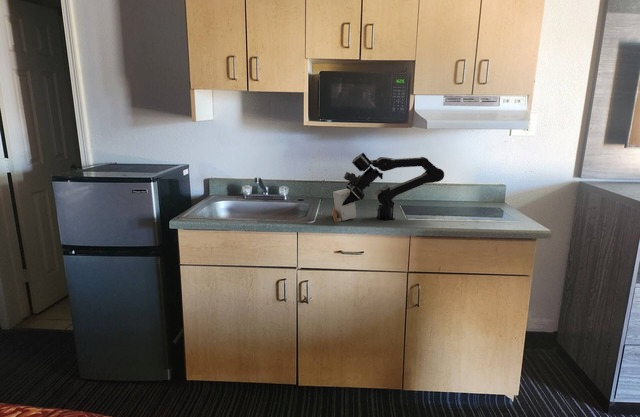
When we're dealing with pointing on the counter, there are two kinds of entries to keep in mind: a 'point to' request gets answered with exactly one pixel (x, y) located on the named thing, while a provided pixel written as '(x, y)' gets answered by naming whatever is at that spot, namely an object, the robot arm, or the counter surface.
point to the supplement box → (344, 210)
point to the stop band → (336, 216)
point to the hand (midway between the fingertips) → (341, 202)
